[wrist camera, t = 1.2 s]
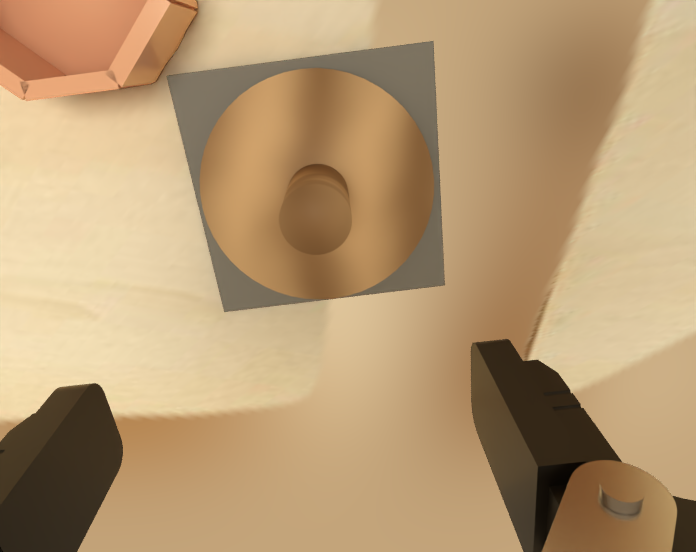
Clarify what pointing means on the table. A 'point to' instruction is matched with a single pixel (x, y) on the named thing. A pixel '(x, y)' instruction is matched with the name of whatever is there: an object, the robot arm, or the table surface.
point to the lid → (316, 183)
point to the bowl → (87, 44)
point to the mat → (373, 65)
